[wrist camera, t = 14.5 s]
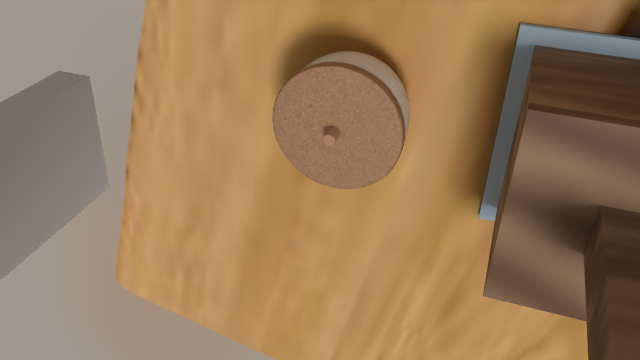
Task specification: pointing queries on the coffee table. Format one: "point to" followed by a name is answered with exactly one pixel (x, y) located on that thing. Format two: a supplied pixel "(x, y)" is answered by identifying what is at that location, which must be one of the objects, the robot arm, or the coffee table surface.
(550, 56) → the cover
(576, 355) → the coffee table surface
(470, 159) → the coffee table surface
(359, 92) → the lidded jar
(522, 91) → the mat
